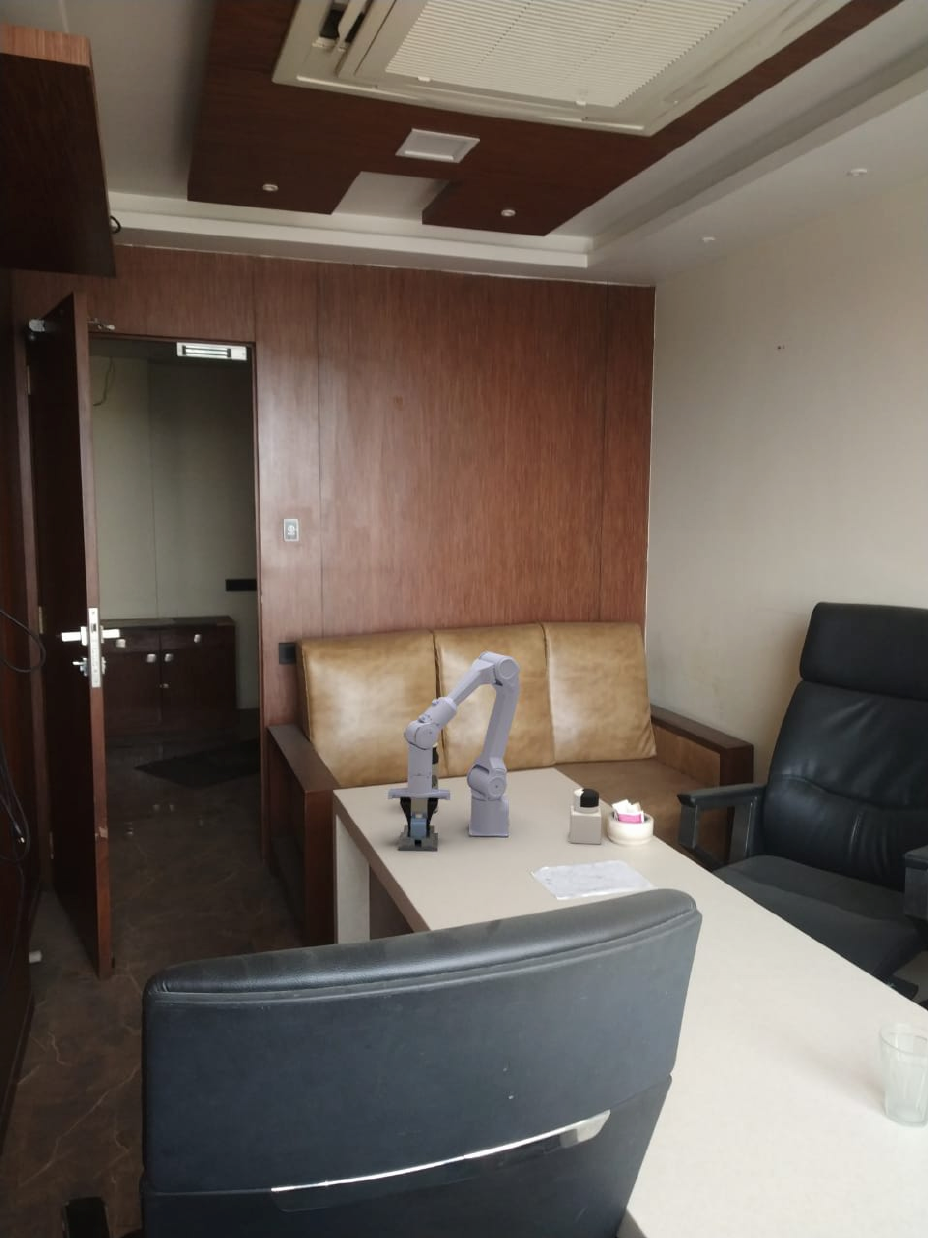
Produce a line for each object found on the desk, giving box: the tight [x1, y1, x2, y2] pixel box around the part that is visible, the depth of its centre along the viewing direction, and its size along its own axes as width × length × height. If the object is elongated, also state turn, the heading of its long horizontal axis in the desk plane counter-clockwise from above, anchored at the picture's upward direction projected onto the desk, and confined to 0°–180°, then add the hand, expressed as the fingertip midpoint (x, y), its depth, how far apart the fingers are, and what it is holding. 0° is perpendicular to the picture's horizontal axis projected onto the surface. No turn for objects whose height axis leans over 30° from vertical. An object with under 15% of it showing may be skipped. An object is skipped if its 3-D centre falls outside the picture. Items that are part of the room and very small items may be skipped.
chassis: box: [397, 824, 439, 852], centre depth 206 cm, size 9×10×3 cm
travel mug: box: [411, 741, 440, 814], centre depth 229 cm, size 8×8×18 cm
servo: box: [410, 811, 427, 840], centre depth 206 cm, size 4×7×6 cm, turn 0°
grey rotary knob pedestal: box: [569, 788, 603, 845], centre depth 211 cm, size 7×7×12 cm
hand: (418, 828), depth 206 cm, fingers closed on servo, 4 cm apart
